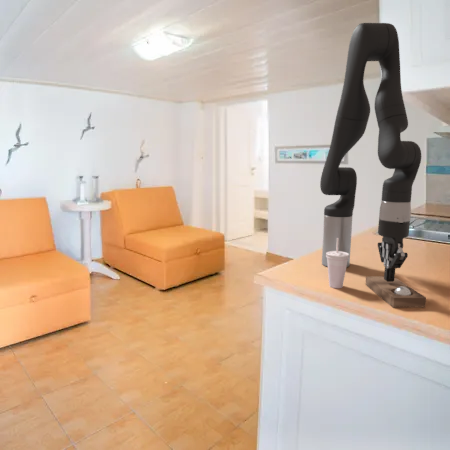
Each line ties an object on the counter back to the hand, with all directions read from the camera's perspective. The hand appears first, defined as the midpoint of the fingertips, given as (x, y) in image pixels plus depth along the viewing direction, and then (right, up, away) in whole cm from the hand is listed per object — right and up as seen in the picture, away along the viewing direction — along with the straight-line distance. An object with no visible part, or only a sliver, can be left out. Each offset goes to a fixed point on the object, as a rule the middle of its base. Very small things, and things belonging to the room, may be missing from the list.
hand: (389, 280), depth 102 cm
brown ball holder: (0, -4, -2) cm, 4 cm away
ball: (0, -2, -7) cm, 7 cm away
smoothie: (-13, -3, +5) cm, 14 cm away
